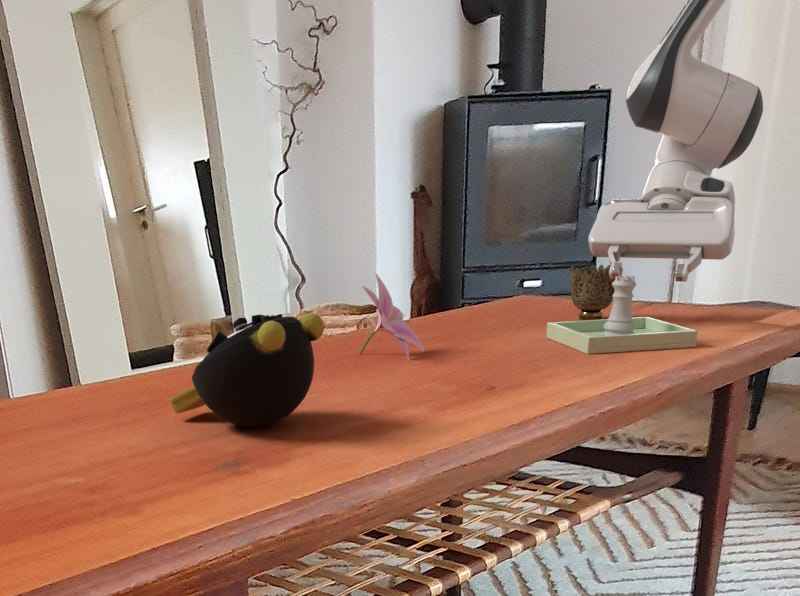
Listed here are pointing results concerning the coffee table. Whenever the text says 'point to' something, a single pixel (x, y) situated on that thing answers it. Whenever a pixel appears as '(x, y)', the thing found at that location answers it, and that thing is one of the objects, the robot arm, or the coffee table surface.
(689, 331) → the game tray
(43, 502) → the coffee table surface
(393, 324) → the lily
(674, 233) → the robot arm
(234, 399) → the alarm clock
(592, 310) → the cup
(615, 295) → the rook chess piece
